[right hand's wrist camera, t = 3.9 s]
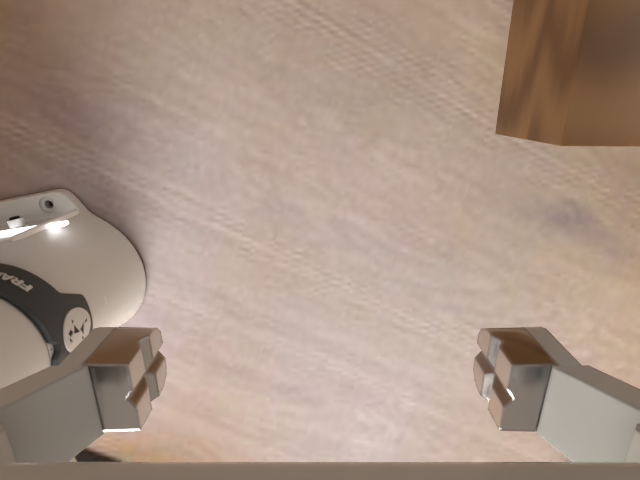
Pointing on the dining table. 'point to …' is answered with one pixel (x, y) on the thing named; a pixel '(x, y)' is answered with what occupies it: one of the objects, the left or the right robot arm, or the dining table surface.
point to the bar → (572, 73)
